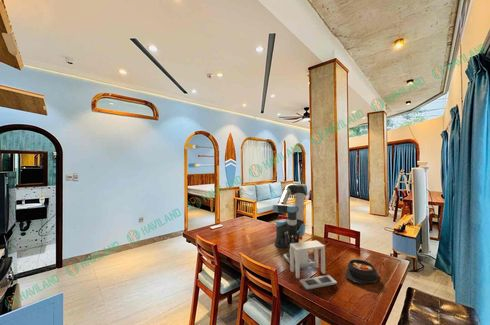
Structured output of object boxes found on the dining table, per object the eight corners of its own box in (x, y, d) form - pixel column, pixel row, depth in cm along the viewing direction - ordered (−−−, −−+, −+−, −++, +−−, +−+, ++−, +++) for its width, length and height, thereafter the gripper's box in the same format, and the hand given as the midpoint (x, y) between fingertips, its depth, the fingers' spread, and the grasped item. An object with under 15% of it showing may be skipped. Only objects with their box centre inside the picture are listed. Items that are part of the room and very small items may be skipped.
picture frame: (282, 256, 161) (282, 238, 161) (300, 253, 165) (300, 236, 165) (295, 269, 141) (294, 248, 141) (314, 266, 145) (314, 246, 145)
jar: (310, 265, 148) (310, 245, 148) (304, 271, 141) (304, 250, 141) (297, 260, 156) (297, 241, 156) (291, 265, 148) (291, 246, 148)
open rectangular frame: (290, 270, 142) (289, 243, 142) (316, 266, 147) (316, 240, 147) (306, 289, 121) (306, 258, 121) (337, 283, 126) (336, 253, 126)
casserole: (366, 291, 118) (366, 277, 118) (337, 276, 134) (337, 264, 134) (385, 277, 131) (385, 265, 131) (357, 265, 147) (357, 254, 147)
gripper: (285, 226, 156) (285, 255, 156) (303, 224, 160) (303, 252, 160) (281, 223, 163) (281, 251, 163) (298, 221, 167) (299, 248, 167)
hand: (292, 252), depth 162 cm, fingers closed on picture frame, 3 cm apart
